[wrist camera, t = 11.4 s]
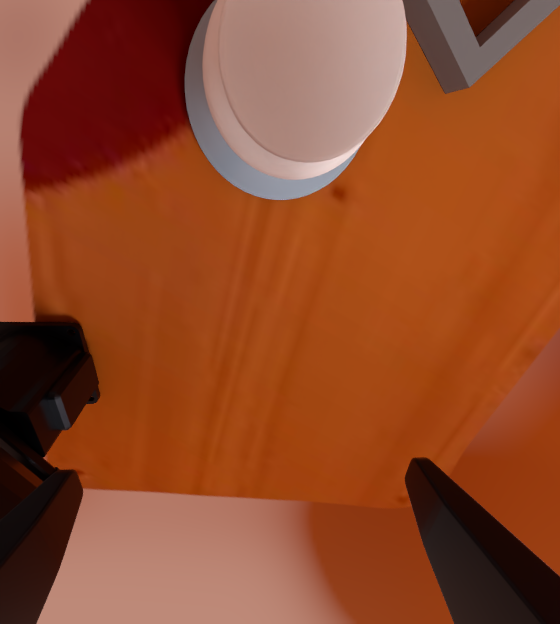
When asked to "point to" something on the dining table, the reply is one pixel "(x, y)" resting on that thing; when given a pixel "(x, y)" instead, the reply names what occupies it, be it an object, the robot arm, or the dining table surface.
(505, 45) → the frame
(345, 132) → the supplement bottle
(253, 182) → the coaster
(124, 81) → the dining table surface
